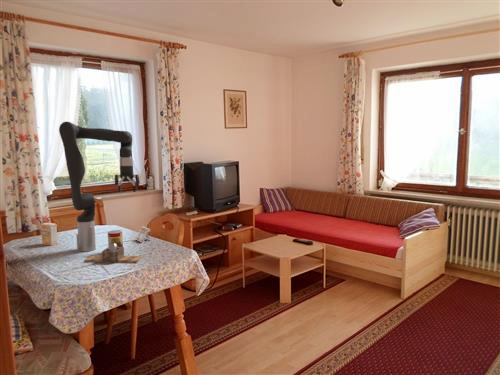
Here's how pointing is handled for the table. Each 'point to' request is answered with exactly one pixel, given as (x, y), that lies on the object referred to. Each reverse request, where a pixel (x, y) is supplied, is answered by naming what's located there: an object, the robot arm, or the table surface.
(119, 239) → the canned food
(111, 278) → the table surface
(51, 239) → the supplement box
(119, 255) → the hinge
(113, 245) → the hinge pin
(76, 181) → the robot arm
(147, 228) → the portable electronic device stand
